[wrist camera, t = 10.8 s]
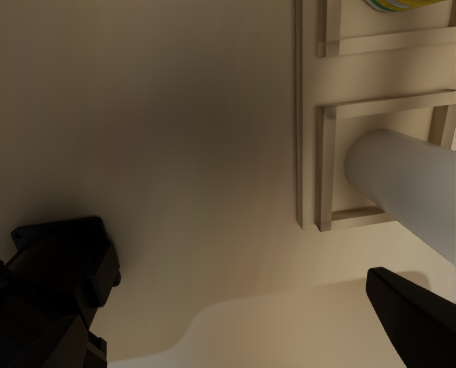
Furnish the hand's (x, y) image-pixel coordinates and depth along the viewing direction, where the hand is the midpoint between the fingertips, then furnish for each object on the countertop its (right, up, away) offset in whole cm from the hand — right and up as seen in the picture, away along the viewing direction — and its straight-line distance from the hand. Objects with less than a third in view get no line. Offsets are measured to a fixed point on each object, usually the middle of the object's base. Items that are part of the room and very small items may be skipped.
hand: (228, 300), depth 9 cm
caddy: (+10, +11, +10) cm, 18 cm away
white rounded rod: (+11, +5, +12) cm, 17 cm away
